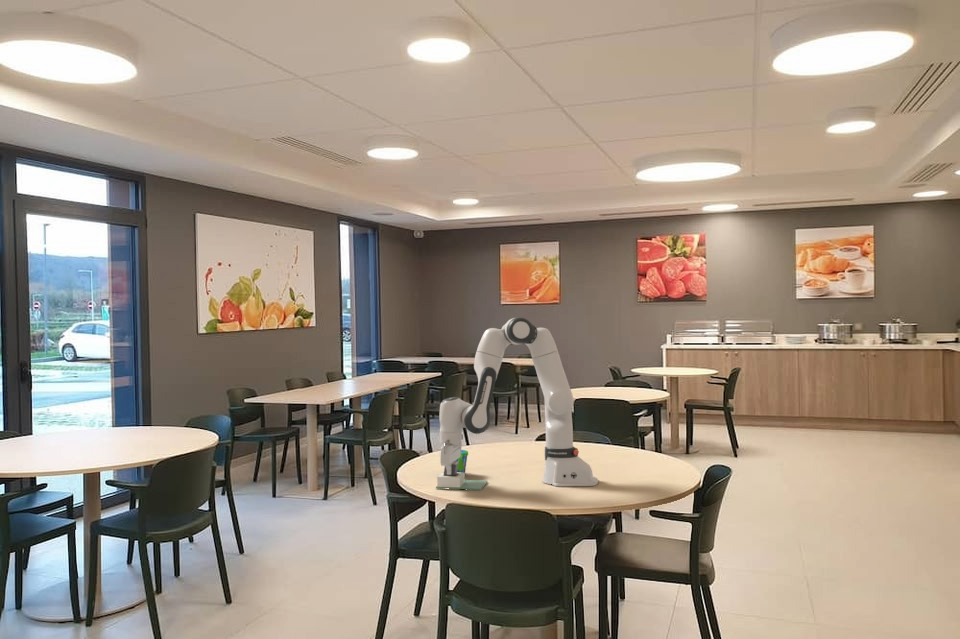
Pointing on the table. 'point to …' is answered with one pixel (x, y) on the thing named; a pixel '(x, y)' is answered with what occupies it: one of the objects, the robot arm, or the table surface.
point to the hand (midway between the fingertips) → (451, 472)
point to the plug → (454, 469)
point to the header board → (470, 485)
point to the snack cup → (462, 461)
